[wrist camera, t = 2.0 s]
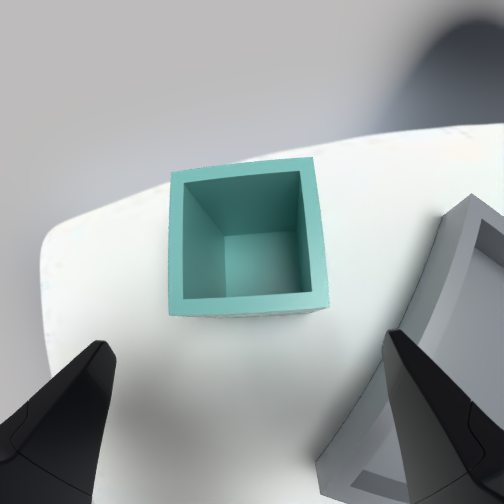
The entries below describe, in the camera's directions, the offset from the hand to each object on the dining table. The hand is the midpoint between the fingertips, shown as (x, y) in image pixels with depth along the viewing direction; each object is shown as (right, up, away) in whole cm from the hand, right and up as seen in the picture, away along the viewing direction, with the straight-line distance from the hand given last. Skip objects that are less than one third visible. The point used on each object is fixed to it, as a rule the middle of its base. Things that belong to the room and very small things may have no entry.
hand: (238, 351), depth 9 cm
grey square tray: (+18, -8, +7) cm, 21 cm away
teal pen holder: (+1, +2, +12) cm, 12 cm away
